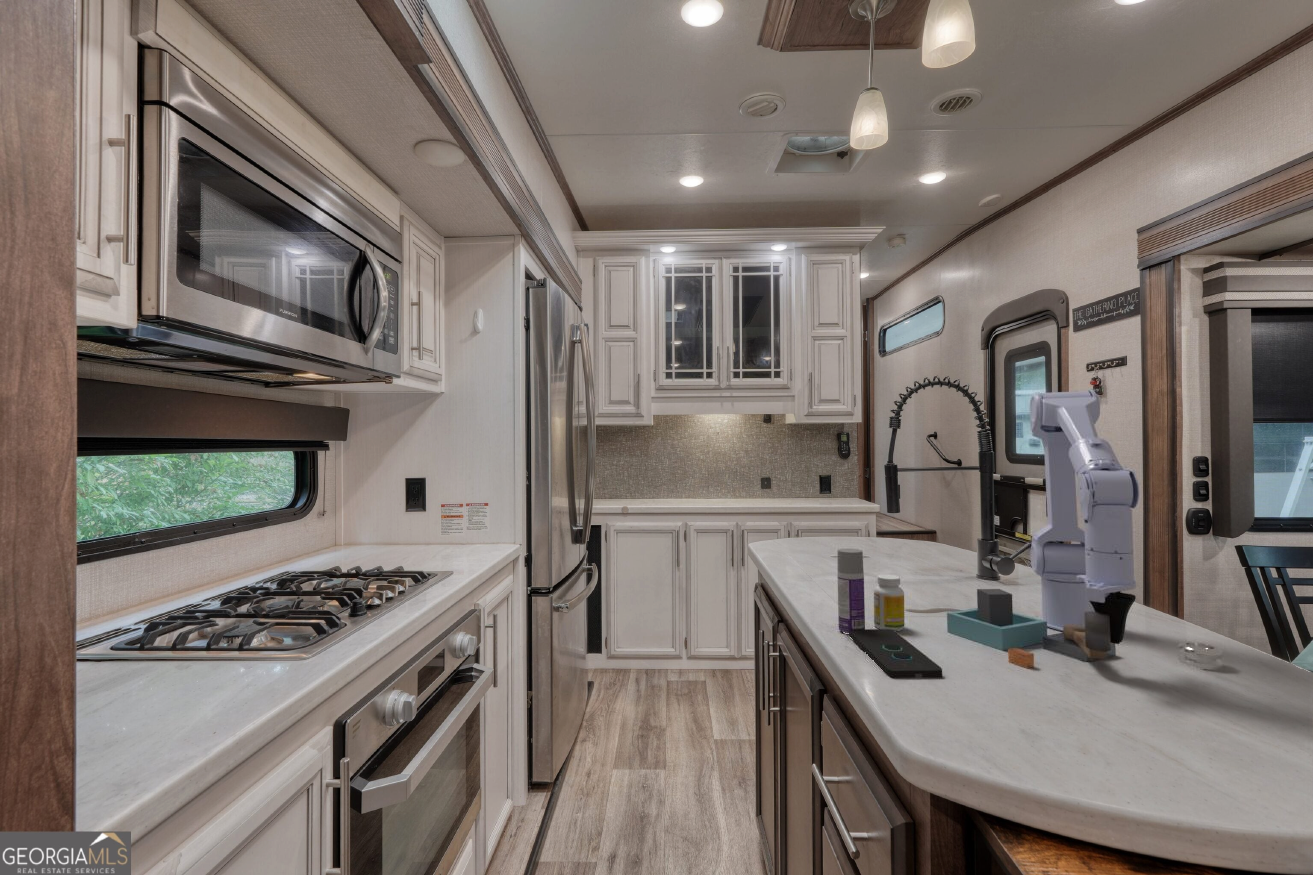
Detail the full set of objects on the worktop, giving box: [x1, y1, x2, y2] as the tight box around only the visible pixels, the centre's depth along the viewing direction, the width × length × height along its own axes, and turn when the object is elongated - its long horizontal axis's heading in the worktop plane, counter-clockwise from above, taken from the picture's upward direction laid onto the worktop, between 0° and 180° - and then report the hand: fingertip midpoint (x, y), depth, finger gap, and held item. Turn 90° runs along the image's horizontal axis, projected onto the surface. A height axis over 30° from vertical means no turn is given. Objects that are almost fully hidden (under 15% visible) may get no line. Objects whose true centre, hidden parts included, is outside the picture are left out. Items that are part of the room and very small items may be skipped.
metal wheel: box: [1177, 641, 1224, 671], centre depth 90 cm, size 5×3×5 cm
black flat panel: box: [848, 628, 943, 679], centre depth 96 cm, size 8×2×20 cm
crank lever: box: [1062, 611, 1111, 660], centre depth 91 cm, size 14×4×6 cm, turn 158°
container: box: [837, 548, 866, 633], centre depth 109 cm, size 5×5×15 cm
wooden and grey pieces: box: [1007, 632, 1117, 669], centre depth 94 cm, size 18×7×2 cm, turn 112°
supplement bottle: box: [873, 574, 906, 632], centre depth 111 cm, size 5×5×10 cm
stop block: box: [976, 588, 1014, 627], centre depth 104 cm, size 4×4×7 cm
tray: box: [946, 607, 1048, 651], centre depth 104 cm, size 11×11×4 cm
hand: (1111, 641), depth 87 cm, fingers closed, pressing on crank lever
